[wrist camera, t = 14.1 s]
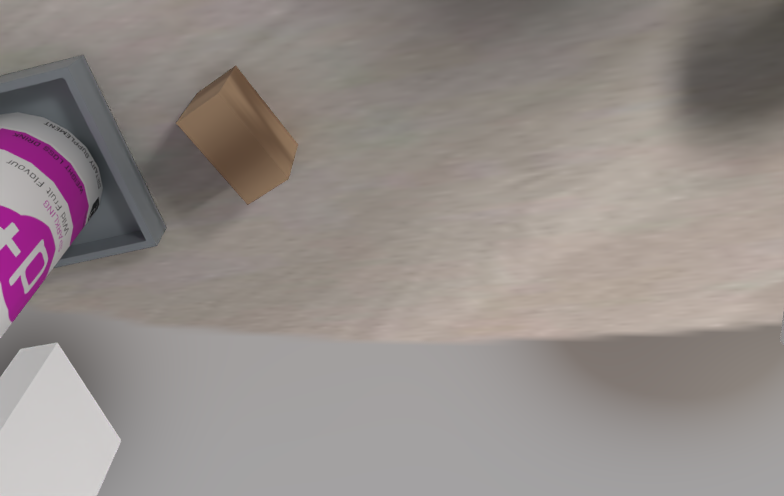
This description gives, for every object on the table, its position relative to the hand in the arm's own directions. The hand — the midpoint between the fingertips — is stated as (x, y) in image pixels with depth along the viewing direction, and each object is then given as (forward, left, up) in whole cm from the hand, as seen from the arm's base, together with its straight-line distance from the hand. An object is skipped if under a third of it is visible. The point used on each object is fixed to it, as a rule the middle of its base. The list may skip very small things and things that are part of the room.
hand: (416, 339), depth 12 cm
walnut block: (+5, -10, -30) cm, 32 cm away
